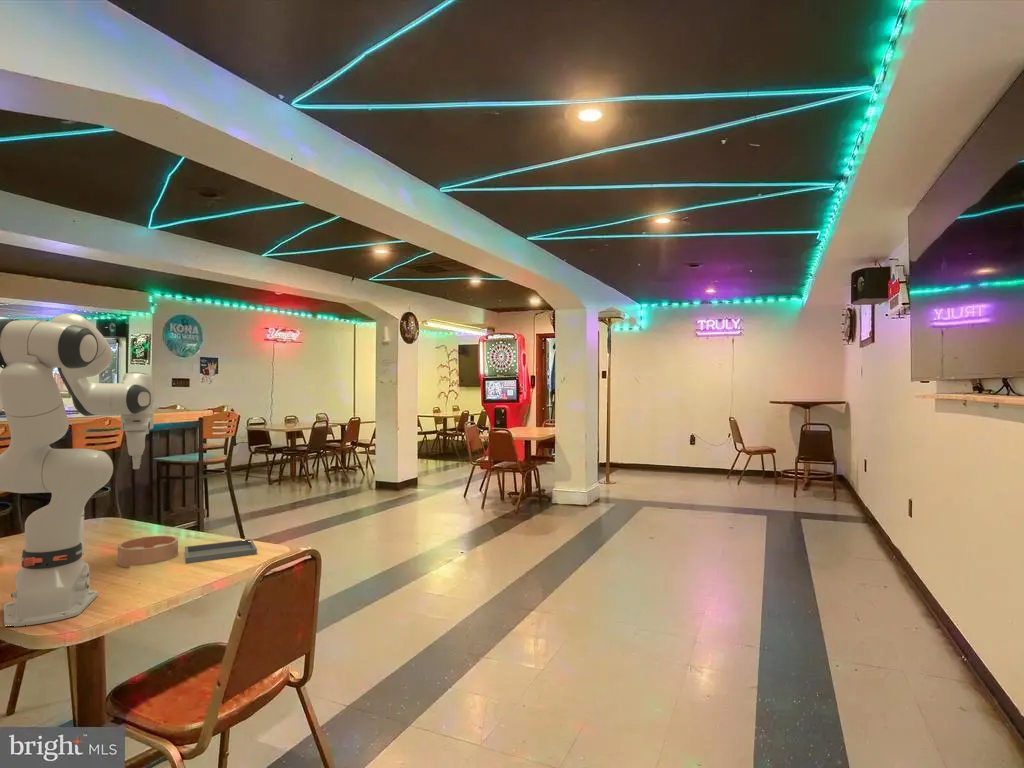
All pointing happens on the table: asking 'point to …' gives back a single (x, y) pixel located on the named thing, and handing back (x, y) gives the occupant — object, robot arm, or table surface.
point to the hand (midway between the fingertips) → (136, 466)
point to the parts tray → (219, 551)
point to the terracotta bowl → (147, 550)
